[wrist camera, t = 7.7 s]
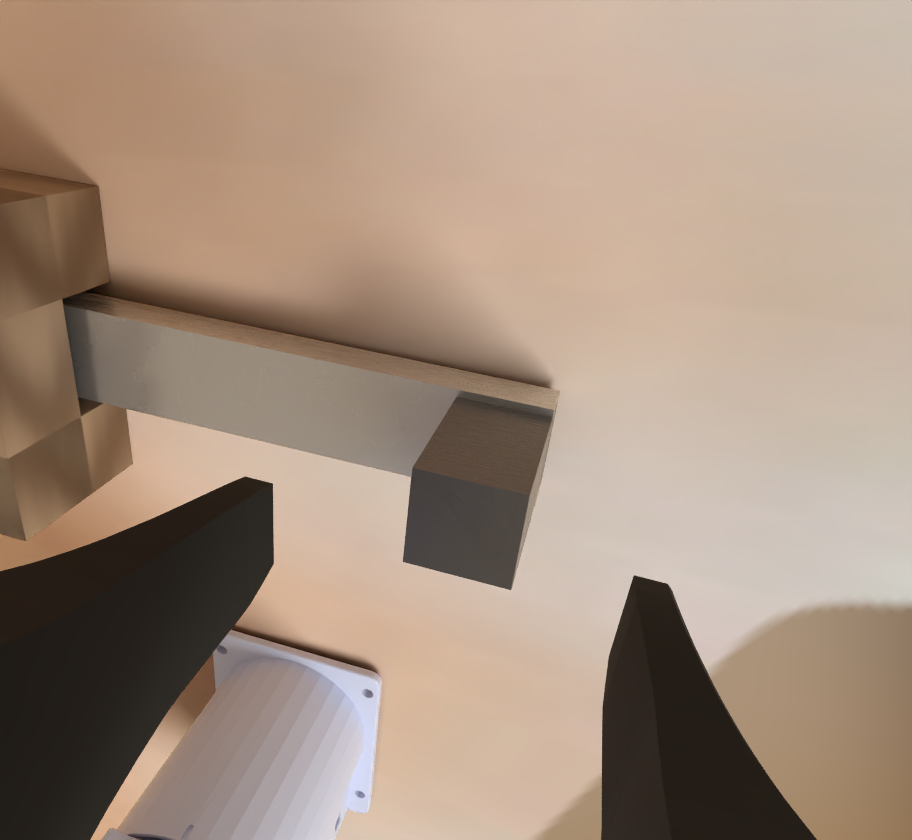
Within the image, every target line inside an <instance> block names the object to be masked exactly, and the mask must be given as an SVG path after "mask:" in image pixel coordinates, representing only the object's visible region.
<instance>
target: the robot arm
mask: <svg viewBox="0 0 912 840" xmlns="http://www.w3.org/2000/svg"><path fill="white" fill-rule="evenodd" d="M273 564H274V547H273V484H272V483H268V482H264V481H260V480H256V479H252V478H248V477H243V478H241V479H238V480H236V481H233V482H231V483H229V484H227V485H224V486H222V487H220V488H218V489H216V490H213V491H211V492H209V493H207V494H205V495H203V496H201V497H198V498H196V499H194V500H192V501H190V502H188V503H186V504H183V505H181V506H179V507H177V508H175V509H172V510H170V511H168V512H166V513H164V514H162V515H159V516H157V517H155V518H153V519H150V520H148V521H146V522H143V523H141V524H138V525H136V526H134V527H131V528H129V529H126V530H124V531H121V532H119V533H117V534H114V535H112V536H109V537H107V538H104V539H102V540H99V541H97V542H94V543H91V544H89V545H86V546H83V547H80V548H77V549H75V550H72V551H69V552H66V553H62V554H59V555H56V556H53V557H50V558H47V559H44V560H41V561H37V562H34V563H31V564H27V565H23V566H19V567H15V568H12V569H8V570H4V571H0V840H90V839H91V837H92V835H93V834H94V832H95V830H96V828H97V827H98V825H99V823H100V821H101V819H102V818H103V816H104V814H105V812H106V811H107V809H108V807H109V805H110V804H111V802H112V800H113V799H114V797H115V795H116V794H117V792H118V790H119V789H120V787H121V785H122V784H123V782H124V780H125V779H126V777H127V775H128V774H129V772H130V770H131V769H132V767H133V765H134V764H135V762H136V760H137V759H138V757H139V756H140V754H141V752H142V751H143V749H144V748H145V746H146V745H147V743H148V741H149V740H150V738H151V737H152V735H153V734H154V732H155V730H156V729H157V727H158V726H159V724H160V723H161V721H162V719H163V718H164V716H165V715H166V713H167V712H168V710H169V709H170V708H171V706H172V705H173V704H174V702H175V701H176V699H177V698H178V697H179V695H180V694H181V693H182V691H183V690H184V689H185V687H186V686H187V685H188V684H189V682H190V681H191V680H192V679H193V677H194V676H195V675H196V673H197V672H198V671H199V670H200V668H201V667H202V666H203V665H204V663H205V662H206V661H207V659H208V658H209V657H210V656H211V654H212V653H213V662H214V676H215V690H216V692H215V693H214V695H213V696H212V697H211V699H210V700H209V702H208V703H207V704H206V706H205V707H204V709H203V710H202V711H201V713H200V714H199V716H198V717H197V718H196V720H195V721H194V723H193V724H192V725H191V727H190V728H189V730H188V731H187V732H186V734H185V735H184V737H183V738H182V739H181V741H180V742H179V744H178V745H177V746H176V748H175V749H174V750H173V752H172V753H171V755H170V756H169V757H168V759H167V760H166V762H165V763H164V764H163V766H162V767H161V769H160V770H159V771H158V773H157V774H156V776H155V777H154V778H153V780H152V781H151V783H150V784H149V785H148V787H147V788H146V790H145V791H144V792H143V794H142V795H141V797H140V798H139V799H138V801H137V802H136V803H135V805H134V806H133V808H132V809H131V810H130V812H129V813H128V815H127V816H126V817H125V819H124V820H123V822H122V823H121V824H120V826H119V827H118V829H117V830H116V829H114V828H111V829H109V830H108V831H107V833H106V834H105V836H104V837H103V838H102V840H335V838H336V835H337V833H338V831H339V828H340V826H341V823H342V821H343V819H344V816H345V814H346V811H347V809H348V810H351V811H354V812H357V813H366V812H368V810H369V807H370V805H371V797H372V786H373V775H374V764H375V753H376V742H377V731H378V720H379V709H380V698H381V687H382V680H381V678H380V676H379V675H378V674H377V673H375V672H373V671H370V670H367V669H363V668H360V667H356V666H353V665H350V664H346V663H343V662H339V661H336V660H333V659H329V658H326V657H322V656H319V655H315V654H312V653H309V652H305V651H302V650H298V649H295V648H291V647H288V646H285V645H281V644H278V643H274V642H271V641H268V640H264V639H261V638H257V637H254V636H250V635H247V634H244V633H240V632H237V631H233V630H231V629H232V627H233V626H234V625H235V624H236V622H237V621H238V620H239V618H240V617H241V616H242V614H243V613H244V612H245V610H246V609H247V608H248V606H249V605H250V603H251V602H252V600H253V599H254V597H255V595H256V594H257V592H258V590H259V589H260V587H261V585H262V583H263V582H264V580H265V578H266V576H267V575H268V573H269V571H270V569H271V567H272V566H273ZM368 689H369V690H368ZM370 690H371V691H370ZM601 840H817V839H816V838H815V837H814V835H813V834H812V833H811V832H810V830H809V829H808V828H807V827H806V826H805V824H804V823H803V821H802V820H801V819H800V818H799V816H798V815H797V814H796V813H795V811H794V810H793V809H792V808H791V806H790V805H789V804H788V803H787V801H786V800H785V799H784V797H783V796H782V794H781V793H780V792H779V790H778V789H777V788H776V786H775V785H774V783H773V782H772V780H771V779H770V778H769V776H768V775H767V773H766V772H765V770H764V769H763V767H762V766H761V764H760V763H759V761H758V760H757V758H756V757H755V755H754V754H753V752H752V751H751V749H750V747H749V746H748V744H747V743H746V741H745V739H744V738H743V736H742V734H741V733H740V731H739V729H738V728H737V726H736V725H735V723H734V721H733V719H732V717H731V716H730V714H729V712H728V710H727V709H726V707H725V705H724V703H723V702H722V700H721V698H720V696H719V694H718V692H717V690H716V688H715V687H714V685H713V683H712V681H711V679H710V677H709V675H708V673H707V670H706V668H705V666H704V664H703V662H702V660H701V658H700V656H699V654H698V652H697V650H696V648H695V646H694V643H693V641H692V639H691V637H690V634H689V632H688V630H687V627H686V625H685V623H684V620H683V618H682V615H681V613H680V610H679V608H678V605H677V603H676V600H675V597H674V595H673V592H672V590H671V588H670V587H669V585H668V584H666V583H662V582H658V581H654V580H650V579H646V578H642V577H638V576H634V577H633V580H632V583H631V586H630V590H629V593H628V596H627V599H626V603H625V606H624V609H623V612H622V616H621V619H620V622H619V625H618V629H617V632H616V635H615V638H614V642H613V645H612V648H611V651H610V655H609V660H608V668H607V676H606V684H605V692H604V701H603V720H602V833H601Z"/></svg>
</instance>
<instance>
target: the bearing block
mask: <svg viewBox="0 0 912 840" xmlns="http://www.w3.org/2000/svg"><path fill="white" fill-rule="evenodd" d="M108 282H110V277H109V269H108V261H107V253H106V244H105V236H104V228H103V220H102V212H101V204H100V196H99V188H98V186H94V185H88V184H82V183H77V182H71V181H65V180H60V179H54V178H49V177H43V176H37V175H32V174H26V173H20V172H15V171H9V170H4V169H0V534H3V535H6V536H10V537H13V538H17V539H20V540H24V541H27V540H29V539H30V538H31V537H33V536H34V535H36V534H37V533H38V532H40V531H41V530H42V529H44V528H45V527H47V526H48V525H49V524H51V523H52V522H53V521H55V520H56V519H58V518H59V517H60V516H62V515H63V514H64V513H66V512H67V511H68V510H70V509H71V508H73V507H74V506H75V505H77V504H78V503H79V502H81V501H82V500H84V499H85V498H86V497H88V496H89V495H90V494H92V493H93V492H95V491H96V490H97V489H99V488H100V487H101V486H103V485H104V484H106V483H107V482H108V481H110V480H111V479H112V478H114V477H115V476H116V475H118V474H119V473H121V472H122V471H123V470H125V469H126V468H127V467H129V466H130V465H132V464H133V463H132V455H131V447H130V439H129V430H128V422H127V414H126V409H125V408H121V407H117V406H113V405H109V404H104V403H100V402H96V401H92V400H88V399H84V398H79V397H78V396H77V389H76V383H75V377H74V371H73V364H72V358H71V352H70V345H69V339H68V333H67V327H66V320H65V314H64V308H63V301H62V299H63V298H66V297H69V296H72V295H75V294H77V293H80V292H83V291H86V290H88V289H91V288H94V287H97V286H99V285H102V284H105V283H108Z"/></svg>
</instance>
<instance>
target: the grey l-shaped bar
mask: <svg viewBox="0 0 912 840" xmlns="http://www.w3.org/2000/svg"><path fill="white" fill-rule="evenodd" d="M62 301H63V308H64V314H65V320H66V327H67V333H68V339H69V345H70V352H71V358H72V364H73V371H74V377H75V383H76V389H77V396H78V397H79V398H84V399H88V400H92V401H96V402H100V403H104V404H109V405H113V406H117V407H121V408H125V409H130V410H134V411H138V412H142V413H146V414H150V415H155V416H159V417H163V418H167V419H171V420H176V421H180V422H184V423H188V424H192V425H197V426H201V427H205V428H209V429H213V430H217V431H222V432H226V433H230V434H234V435H238V436H243V437H247V438H251V439H255V440H259V441H263V442H268V443H272V444H276V445H280V446H284V447H289V448H293V449H297V450H301V451H305V452H309V453H314V454H318V455H322V456H326V457H330V458H335V459H339V460H343V461H347V462H351V463H356V464H360V465H364V466H368V467H372V468H376V469H381V470H385V471H389V472H393V473H397V474H402V475H406V476H410V477H411V486H410V496H409V506H408V516H407V526H406V536H405V546H404V556H403V562H406V563H410V564H413V565H417V566H421V567H425V568H429V569H433V570H436V571H440V572H444V573H448V574H452V575H456V576H459V577H463V578H467V579H471V580H475V581H478V582H482V583H486V584H490V585H494V586H498V587H501V588H505V589H509V590H511V589H512V585H513V581H514V578H515V574H516V570H517V567H518V563H519V559H520V556H521V552H522V549H523V545H524V541H525V538H526V534H527V530H528V527H529V523H530V519H531V516H532V512H533V508H534V506H535V503H536V499H537V496H538V492H539V488H540V485H541V480H542V475H543V471H544V466H545V461H546V456H547V451H548V446H549V441H550V436H551V431H552V427H553V422H554V417H555V412H556V407H557V402H558V397H559V392H560V391H559V390H554V389H550V388H545V387H540V386H535V385H531V384H526V383H521V382H516V381H511V380H507V379H502V378H497V377H492V376H487V375H483V374H478V373H473V372H468V371H463V370H459V369H454V368H449V367H444V366H439V365H435V364H430V363H425V362H420V361H415V360H411V359H406V358H401V357H396V356H391V355H387V354H382V353H377V352H372V351H367V350H363V349H358V348H353V347H348V346H344V345H339V344H334V343H329V342H324V341H320V340H315V339H310V338H305V337H300V336H296V335H291V334H286V333H281V332H276V331H272V330H267V329H262V328H257V327H252V326H248V325H243V324H238V323H233V322H228V321H224V320H219V319H214V318H209V317H204V316H200V315H195V314H190V313H185V312H180V311H176V310H171V309H166V308H161V307H157V306H152V305H147V304H142V303H137V302H133V301H128V300H123V299H118V298H113V297H109V296H104V295H99V294H94V293H89V292H85V291H83V292H80V293H77V294H75V295H72V296H69V297H66V298H63V299H62Z"/></svg>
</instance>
